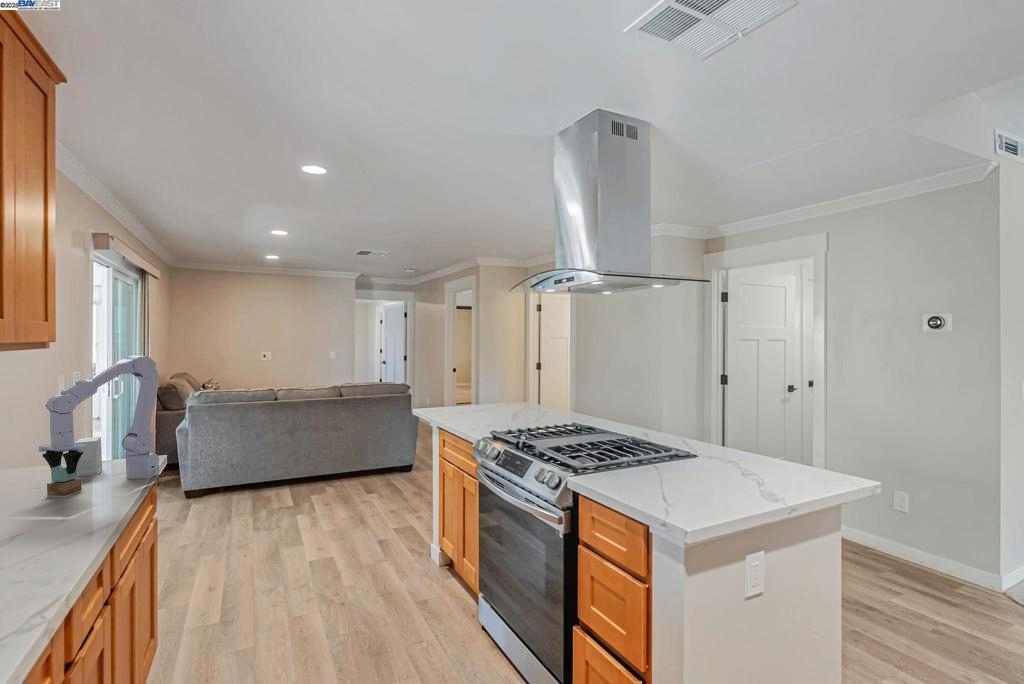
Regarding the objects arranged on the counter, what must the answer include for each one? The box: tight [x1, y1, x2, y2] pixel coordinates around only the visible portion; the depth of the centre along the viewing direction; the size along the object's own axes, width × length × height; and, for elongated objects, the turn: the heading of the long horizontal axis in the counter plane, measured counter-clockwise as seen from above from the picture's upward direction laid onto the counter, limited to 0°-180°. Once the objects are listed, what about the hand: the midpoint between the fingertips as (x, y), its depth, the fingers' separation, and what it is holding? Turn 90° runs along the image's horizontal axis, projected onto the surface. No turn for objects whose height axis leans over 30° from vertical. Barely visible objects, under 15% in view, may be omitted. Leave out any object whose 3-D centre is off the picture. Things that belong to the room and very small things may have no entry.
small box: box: [74, 436, 103, 477], centre depth 193 cm, size 8×6×13 cm
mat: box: [44, 488, 85, 498], centre depth 169 cm, size 16×9×1 cm, turn 88°
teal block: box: [50, 463, 78, 482], centre depth 169 cm, size 4×4×4 cm
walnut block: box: [46, 477, 83, 497], centre depth 169 cm, size 6×6×4 cm
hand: (64, 473), depth 169 cm, fingers closed on teal block, 4 cm apart
